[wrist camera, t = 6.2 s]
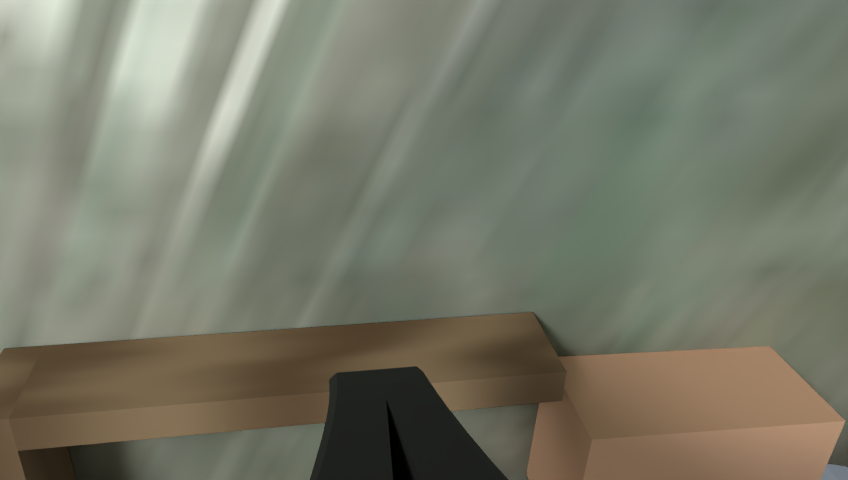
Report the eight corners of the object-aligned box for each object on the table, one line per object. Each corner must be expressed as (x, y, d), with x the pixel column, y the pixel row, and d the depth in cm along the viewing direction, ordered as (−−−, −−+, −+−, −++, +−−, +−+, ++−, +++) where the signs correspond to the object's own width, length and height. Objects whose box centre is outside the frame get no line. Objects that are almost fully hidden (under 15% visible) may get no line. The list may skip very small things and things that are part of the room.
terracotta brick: (766, 342, 25) (845, 420, 22) (728, 453, 27) (794, 540, 24) (545, 353, 24) (592, 439, 20) (524, 469, 26) (563, 565, 22)
